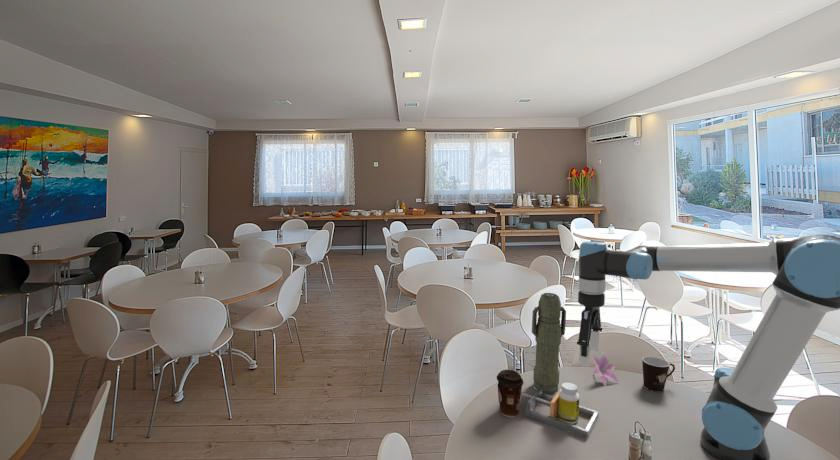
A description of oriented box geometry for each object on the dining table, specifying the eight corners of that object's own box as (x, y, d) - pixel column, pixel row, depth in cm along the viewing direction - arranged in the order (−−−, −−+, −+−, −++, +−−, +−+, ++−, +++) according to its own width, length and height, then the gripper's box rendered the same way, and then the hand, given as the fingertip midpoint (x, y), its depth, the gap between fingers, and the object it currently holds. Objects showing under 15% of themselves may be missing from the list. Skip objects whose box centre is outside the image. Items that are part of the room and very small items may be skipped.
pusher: (563, 407, 130) (563, 389, 129) (552, 421, 122) (553, 402, 121) (525, 394, 138) (526, 377, 137) (514, 406, 130) (514, 389, 129)
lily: (585, 387, 145) (599, 371, 141) (577, 362, 155) (589, 346, 151) (614, 396, 146) (629, 380, 142) (604, 370, 157) (617, 355, 152)
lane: (598, 417, 125) (599, 405, 124) (587, 438, 114) (588, 425, 114) (540, 397, 136) (540, 386, 135) (525, 414, 126) (526, 403, 125)
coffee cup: (491, 414, 126) (492, 376, 124) (499, 402, 133) (500, 366, 131) (518, 422, 122) (520, 383, 120) (524, 409, 129) (526, 372, 127)
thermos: (525, 382, 146) (528, 292, 142) (553, 379, 149) (558, 290, 144) (536, 395, 138) (540, 299, 133) (566, 391, 140) (571, 297, 136)
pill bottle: (579, 426, 120) (581, 392, 119) (558, 423, 122) (560, 389, 120) (576, 414, 126) (578, 382, 125) (556, 412, 127) (558, 380, 126)
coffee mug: (643, 391, 141) (645, 365, 140) (637, 379, 149) (639, 355, 148) (680, 396, 137) (682, 369, 136) (672, 384, 146) (674, 359, 144)
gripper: (587, 282, 132) (586, 342, 134) (567, 299, 112) (566, 369, 114) (612, 285, 128) (609, 347, 130) (595, 303, 108) (593, 376, 110)
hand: (589, 357), depth 122 cm, fingers open, 13 cm apart
